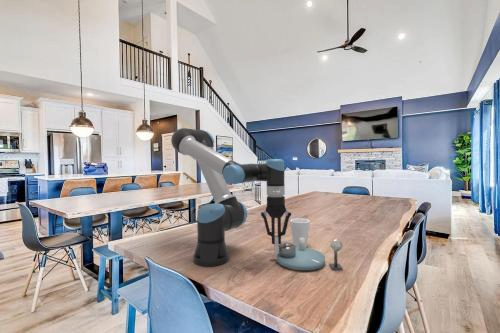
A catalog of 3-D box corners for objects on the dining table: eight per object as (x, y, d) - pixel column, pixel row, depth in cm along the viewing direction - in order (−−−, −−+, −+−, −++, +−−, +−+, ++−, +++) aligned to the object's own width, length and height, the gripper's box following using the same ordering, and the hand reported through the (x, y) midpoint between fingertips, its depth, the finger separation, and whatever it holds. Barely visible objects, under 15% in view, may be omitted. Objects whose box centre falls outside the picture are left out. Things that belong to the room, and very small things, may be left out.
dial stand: (331, 270, 101) (331, 240, 100) (328, 265, 105) (328, 237, 104) (342, 270, 101) (343, 240, 100) (339, 266, 105) (339, 237, 104)
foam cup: (286, 244, 131) (286, 219, 130) (302, 242, 134) (302, 217, 134) (296, 251, 122) (296, 223, 122) (313, 248, 125) (313, 221, 125)
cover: (279, 258, 106) (279, 246, 106) (278, 252, 113) (278, 240, 113) (296, 258, 106) (296, 246, 105) (294, 252, 113) (294, 240, 112)
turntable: (278, 270, 99) (278, 252, 99) (274, 251, 119) (274, 236, 119) (331, 270, 99) (331, 252, 99) (318, 251, 119) (318, 236, 119)
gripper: (260, 197, 105) (261, 254, 105) (292, 196, 104) (293, 254, 105) (260, 194, 112) (260, 248, 113) (290, 194, 112) (290, 248, 112)
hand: (276, 251), depth 109 cm, fingers closed
